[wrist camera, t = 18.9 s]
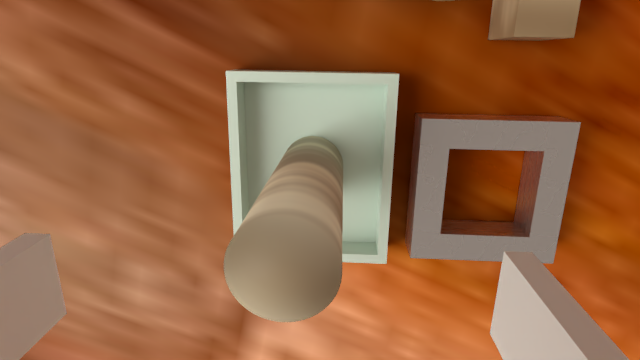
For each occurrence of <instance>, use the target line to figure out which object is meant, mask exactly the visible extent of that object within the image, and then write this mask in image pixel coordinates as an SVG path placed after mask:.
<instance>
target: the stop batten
mask: <svg viewBox="0 0 640 360" xmlns="http://www.w3.org/2000/svg"><path fill="white" fill-rule="evenodd" d="M580 2H581V0H493V4H492V12H491V20H490V28H489V36H488V40H534V41H540V40H552V39H564V38H574V35H575V30H576V24H577V19H578V13H579V8H580Z"/></svg>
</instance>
